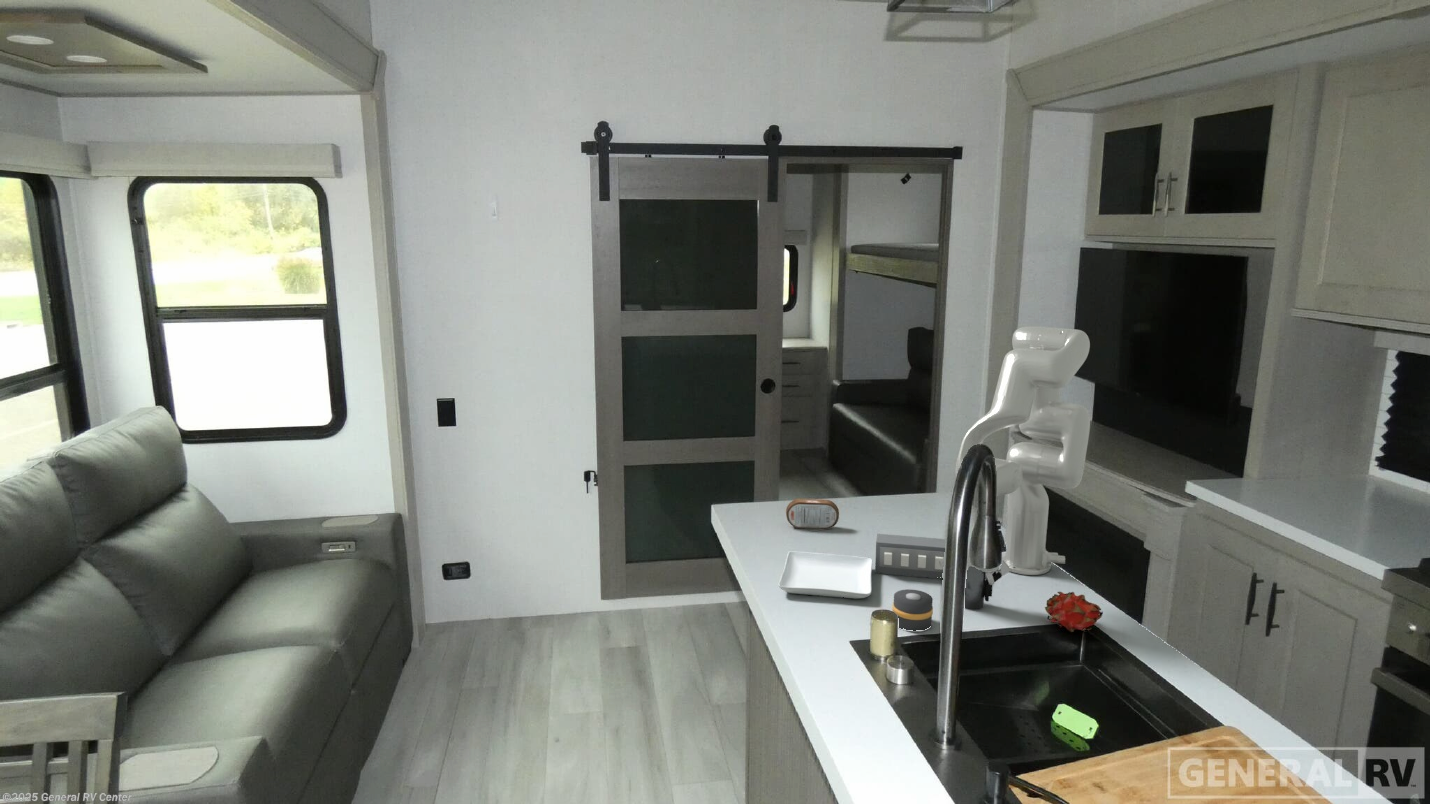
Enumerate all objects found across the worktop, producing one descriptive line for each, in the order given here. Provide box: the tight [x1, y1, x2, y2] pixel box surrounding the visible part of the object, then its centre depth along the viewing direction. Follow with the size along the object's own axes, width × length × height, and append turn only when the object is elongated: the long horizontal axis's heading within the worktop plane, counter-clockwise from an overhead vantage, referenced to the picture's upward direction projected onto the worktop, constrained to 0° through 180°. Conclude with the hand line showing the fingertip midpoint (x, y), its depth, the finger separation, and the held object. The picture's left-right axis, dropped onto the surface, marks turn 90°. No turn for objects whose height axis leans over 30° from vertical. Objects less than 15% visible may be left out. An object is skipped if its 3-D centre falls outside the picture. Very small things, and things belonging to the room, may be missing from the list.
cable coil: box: [892, 588, 934, 631], centre depth 171 cm, size 8×8×6 cm
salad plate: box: [778, 550, 873, 599], centre depth 193 cm, size 21×21×3 cm
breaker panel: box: [874, 533, 946, 580], centre depth 197 cm, size 18×8×8 cm, turn 76°
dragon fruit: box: [1044, 591, 1104, 633], centre depth 169 cm, size 8×8×12 cm
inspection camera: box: [964, 567, 987, 611], centre depth 179 cm, size 5×5×10 cm
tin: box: [785, 498, 840, 530], centre depth 228 cm, size 15×3×8 cm, turn 84°
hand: (972, 596), depth 180 cm, fingers open, 5 cm apart
